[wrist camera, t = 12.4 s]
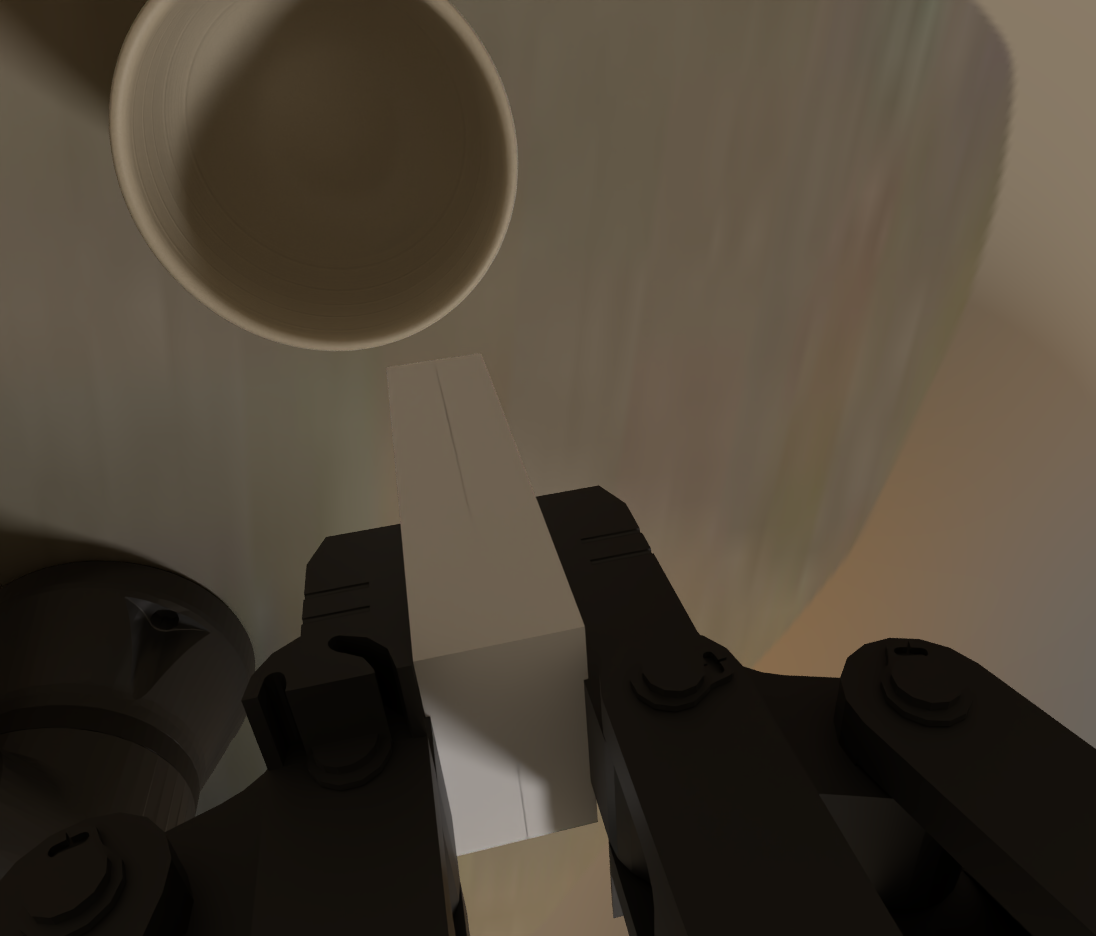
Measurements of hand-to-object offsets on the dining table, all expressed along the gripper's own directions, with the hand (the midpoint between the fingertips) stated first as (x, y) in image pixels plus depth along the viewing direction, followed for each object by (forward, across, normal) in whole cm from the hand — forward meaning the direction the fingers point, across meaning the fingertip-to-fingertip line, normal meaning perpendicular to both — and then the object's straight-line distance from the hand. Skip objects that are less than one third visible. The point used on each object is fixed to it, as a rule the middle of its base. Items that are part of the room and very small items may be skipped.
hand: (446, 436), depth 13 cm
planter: (+27, -2, +2) cm, 27 cm away
